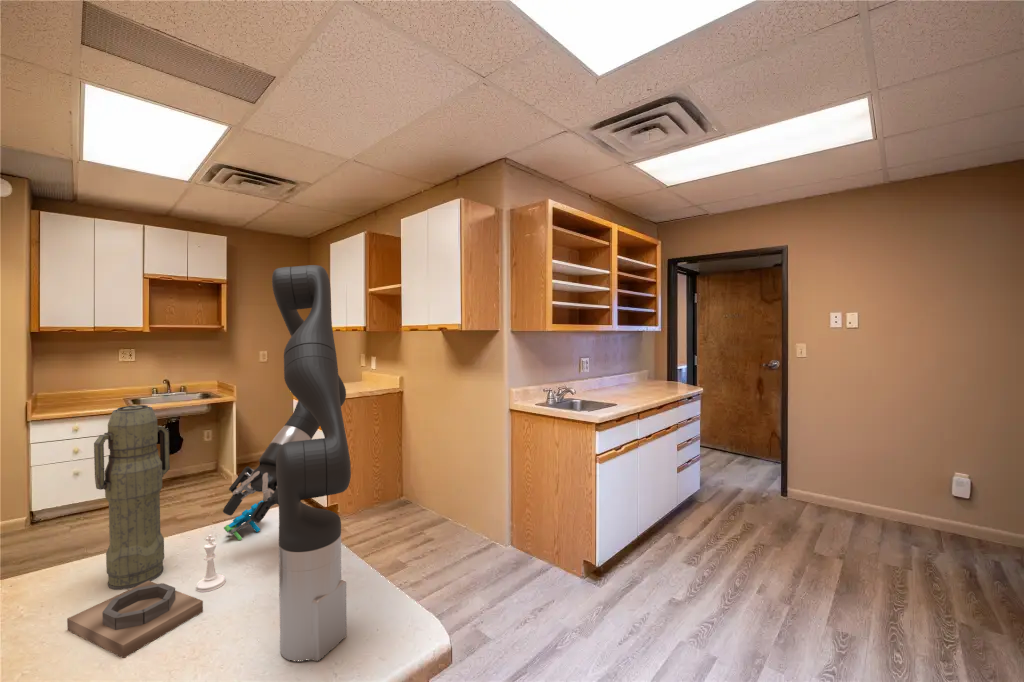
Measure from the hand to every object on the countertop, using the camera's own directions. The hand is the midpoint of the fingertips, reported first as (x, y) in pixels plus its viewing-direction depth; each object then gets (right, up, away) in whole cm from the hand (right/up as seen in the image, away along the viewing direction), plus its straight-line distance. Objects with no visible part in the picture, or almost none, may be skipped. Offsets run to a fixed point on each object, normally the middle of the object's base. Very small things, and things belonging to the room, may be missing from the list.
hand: (240, 517), depth 93 cm
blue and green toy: (-9, -11, +17) cm, 22 cm away
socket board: (-8, -12, -16) cm, 21 cm away
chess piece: (-2, -11, -5) cm, 13 cm away
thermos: (-19, -11, -3) cm, 23 cm away
